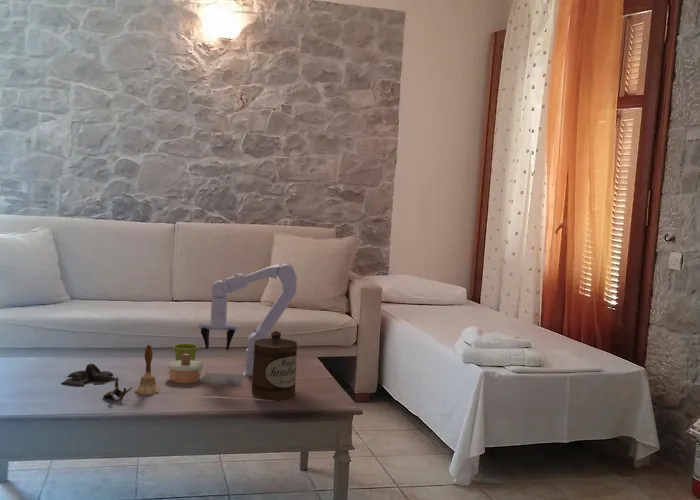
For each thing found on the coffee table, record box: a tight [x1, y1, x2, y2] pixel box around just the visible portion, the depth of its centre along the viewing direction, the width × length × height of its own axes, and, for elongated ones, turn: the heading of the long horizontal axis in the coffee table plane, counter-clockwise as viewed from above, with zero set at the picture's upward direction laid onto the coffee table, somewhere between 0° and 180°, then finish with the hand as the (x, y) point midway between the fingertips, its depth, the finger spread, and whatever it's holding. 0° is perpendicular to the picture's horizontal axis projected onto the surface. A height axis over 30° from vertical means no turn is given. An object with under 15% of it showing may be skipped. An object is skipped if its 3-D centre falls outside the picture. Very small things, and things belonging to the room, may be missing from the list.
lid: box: [167, 354, 204, 371], centre depth 267 cm, size 12×12×4 cm
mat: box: [197, 372, 247, 387], centre depth 271 cm, size 15×15×1 cm
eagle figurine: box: [103, 376, 133, 403], centre depth 242 cm, size 8×7×9 cm
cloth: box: [60, 363, 117, 388], centre depth 263 cm, size 22×19×6 cm
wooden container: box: [251, 330, 298, 401], centre depth 256 cm, size 15×15×22 cm
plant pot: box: [172, 343, 199, 361], centre depth 285 cm, size 9×9×9 cm
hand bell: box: [134, 344, 160, 396], centre depth 252 cm, size 8×8×16 cm
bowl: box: [169, 369, 202, 384], centre depth 268 cm, size 10×10×5 cm
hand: (217, 348), depth 279 cm, fingers open, 7 cm apart
